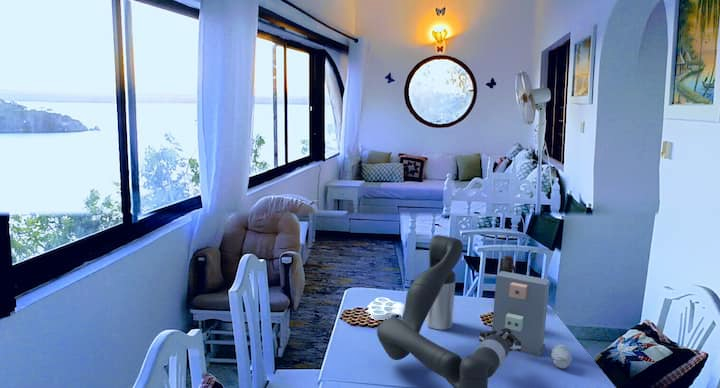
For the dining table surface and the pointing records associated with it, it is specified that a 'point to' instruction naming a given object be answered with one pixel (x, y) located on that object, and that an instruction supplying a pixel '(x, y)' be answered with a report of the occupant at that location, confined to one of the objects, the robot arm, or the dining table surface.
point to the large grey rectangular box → (523, 309)
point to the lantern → (507, 262)
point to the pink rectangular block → (518, 290)
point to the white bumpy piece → (385, 309)
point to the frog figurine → (561, 356)
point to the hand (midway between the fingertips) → (507, 331)
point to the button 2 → (514, 322)
